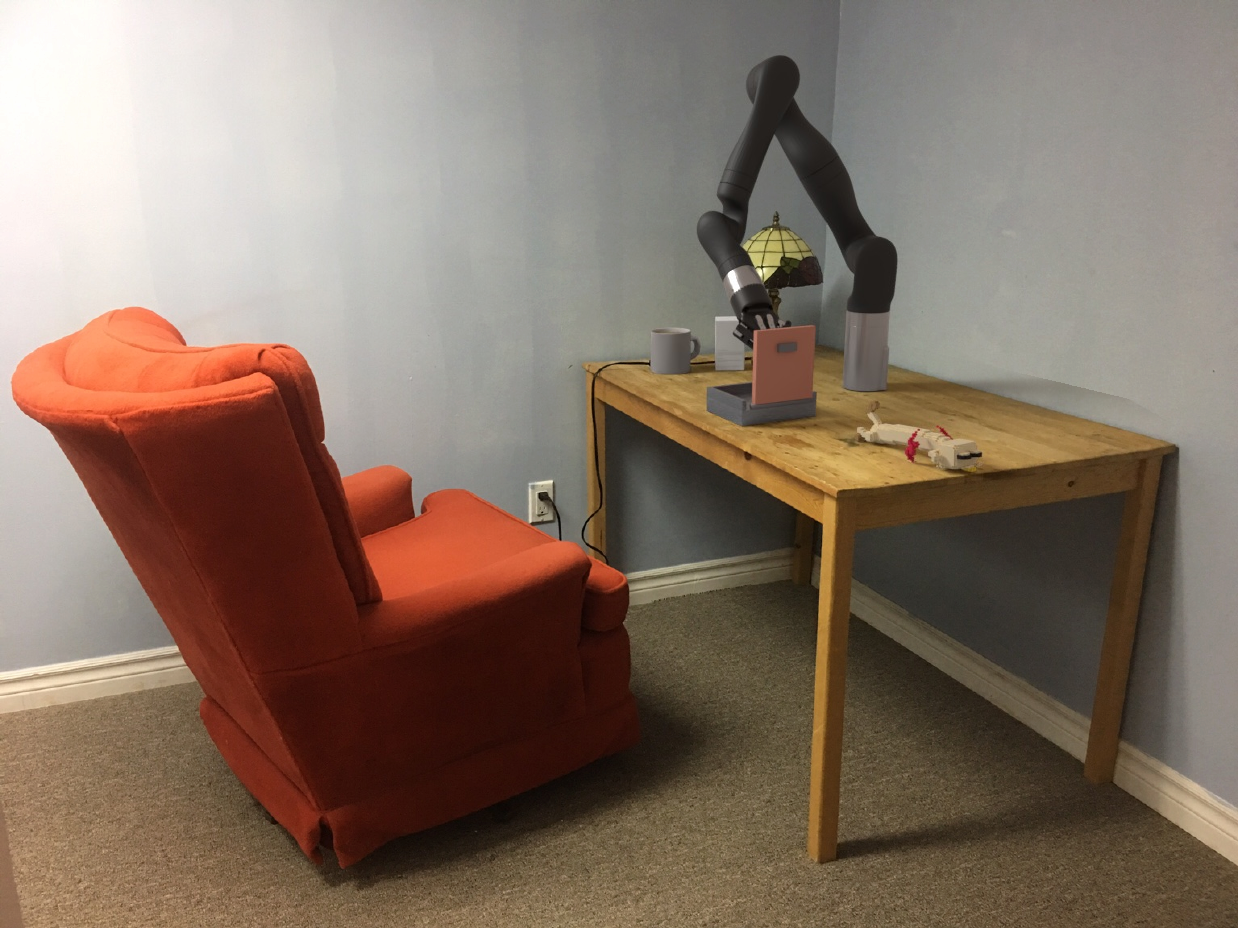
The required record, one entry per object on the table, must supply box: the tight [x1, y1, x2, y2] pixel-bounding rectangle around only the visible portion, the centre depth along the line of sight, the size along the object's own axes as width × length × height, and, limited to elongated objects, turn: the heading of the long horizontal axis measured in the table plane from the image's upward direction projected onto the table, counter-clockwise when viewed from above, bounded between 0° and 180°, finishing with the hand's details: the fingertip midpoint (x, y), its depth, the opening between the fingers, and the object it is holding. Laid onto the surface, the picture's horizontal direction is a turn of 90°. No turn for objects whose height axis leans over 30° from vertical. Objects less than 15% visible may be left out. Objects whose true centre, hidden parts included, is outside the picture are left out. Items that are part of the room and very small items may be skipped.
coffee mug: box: [649, 327, 701, 376], centre depth 228 cm, size 13×10×10 cm
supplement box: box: [714, 315, 746, 371], centre depth 229 cm, size 7×7×13 cm
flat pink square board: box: [750, 324, 817, 410], centre depth 175 cm, size 2×14×15 cm, turn 114°
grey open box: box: [706, 381, 818, 427], centre depth 185 cm, size 14×17×5 cm
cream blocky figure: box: [854, 399, 983, 473], centre depth 155 cm, size 10×9×25 cm
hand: (778, 364), depth 177 cm, fingers closed
